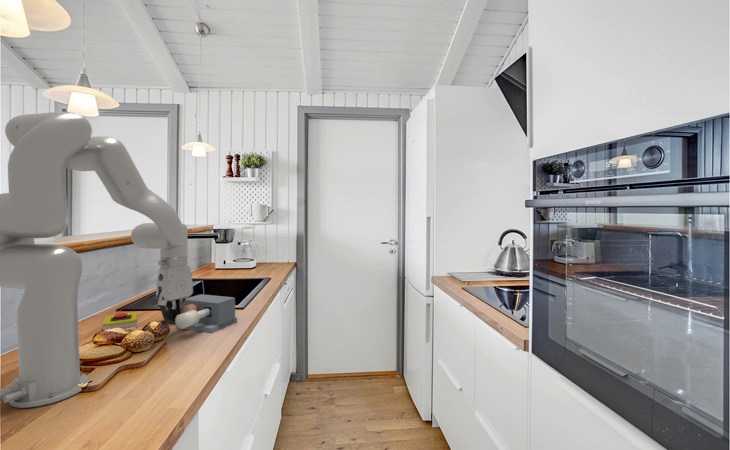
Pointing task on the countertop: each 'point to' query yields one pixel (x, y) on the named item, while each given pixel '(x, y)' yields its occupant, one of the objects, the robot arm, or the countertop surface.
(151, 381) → the countertop surface
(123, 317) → the emergency button
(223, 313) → the block
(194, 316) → the knob cream
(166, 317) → the electrical switch
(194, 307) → the knob terracotta
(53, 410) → the countertop surface
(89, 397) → the countertop surface
